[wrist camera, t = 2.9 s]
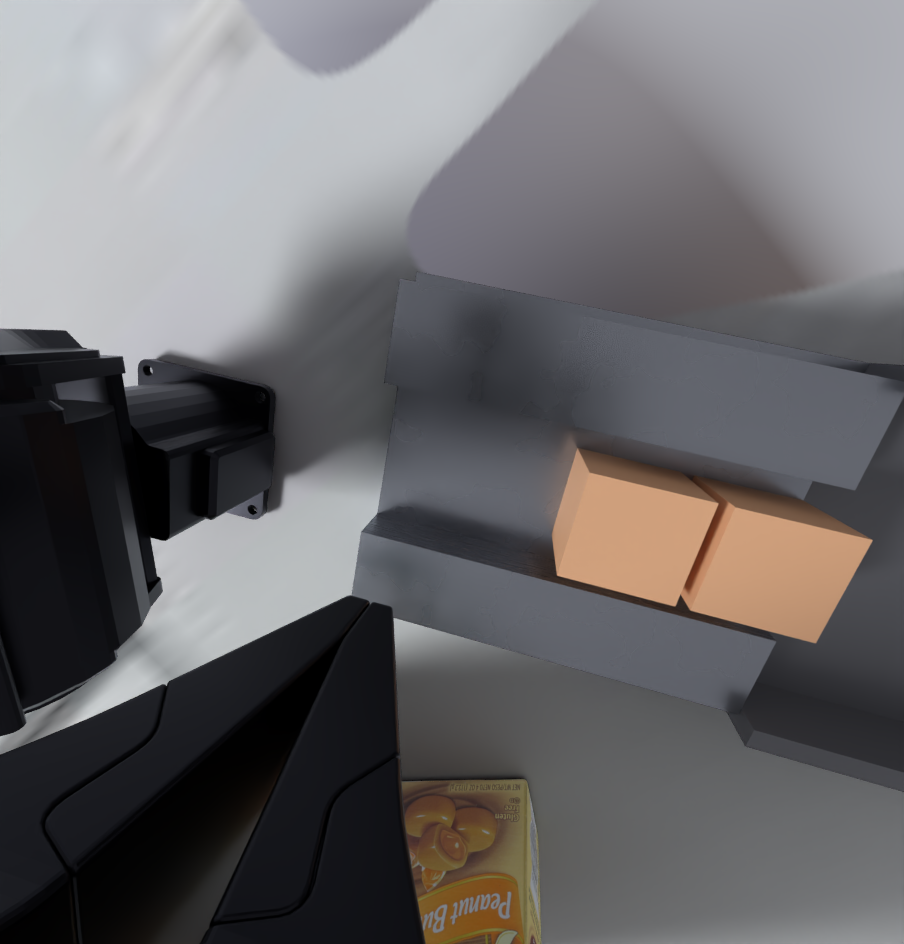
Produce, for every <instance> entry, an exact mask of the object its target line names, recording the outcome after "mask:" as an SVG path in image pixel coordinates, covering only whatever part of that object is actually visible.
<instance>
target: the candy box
mask: <svg viewBox="0 0 904 944" xmlns="http://www.w3.org/2000/svg"><path fill="white" fill-rule="evenodd" d="M402 791H403V803H404V814H405V825H406V831H407V838H408V845H409V851H410V858H411V865H412V871H413V877H414V882H415V888H416V893H417V898H418V904H419V909H420V915H421V920H422V926H423V931H424V936H425V942H426V944H541V919H540V882H539V851H538V833H537V828H536V823H535V818H534V813H533V807H532V802H531V798H530V793H529V788H528V784H527V781H526V780H525V779H510V780H448V781H402Z"/></svg>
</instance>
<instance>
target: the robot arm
mask: <svg viewBox="0 0 904 944" xmlns="http://www.w3.org/2000/svg"><path fill="white" fill-rule="evenodd" d="M150 366H151V368H152V370H153V374H152V373H151V372H150ZM123 373H125V367H124V361H123V356H107V355H100V353H99V350H93V349H87V348H83V347H82V346H81V345H80V344H79V343H78V342H77V341H76V340H75V339H74V338H73V337H72V336H71V335H70V334H69V333H68V332H67V331H61V330H31V329H0V736H3V735H7V734H10V733H14V732H16V731H18V730H20V729H21V728H22V727H23V726H24V725H25V724H26V717H25V714H26V713H29V712H32V711H35V710H38V709H40V708H42V707H44V706H46V705H49V704H51V703H53V702H55V701H57V700H59V699H61V698H63V697H65V696H66V695H68V694H70V693H71V692H73V691H75V690H76V689H78V688H80V687H81V686H82V685H84V684H85V683H86V682H88V681H89V680H91V679H92V678H94V677H95V676H97V675H98V674H100V673H101V672H103V671H105V670H106V669H107V668H108V667H110V666H111V665H112V664H113V663H114V662H115V661H116V659H117V657H118V655H117V650H118V648H119V647H120V646H121V645H122V644H123V643H124V642H125V641H126V640H127V639H128V638H129V637H130V636H131V635H132V634H133V633H134V632H135V631H136V630H137V629H138V628H139V627H141V626H142V624H143V622H144V620H145V618H146V616H147V614H148V612H149V609H150V607H151V606H152V605H153V603H154V602H155V601H156V600H157V598H158V597H159V596H160V595H161V593H162V592H163V589H162V583H161V578H160V577H157V574H156V568H155V562H154V556H153V551H152V545H151V539H150V538H155V539H158V540H162V541H166V540H168V539H170V538H171V537H173V536H175V535H177V534H179V533H181V532H182V531H184V530H186V529H188V528H190V527H192V526H193V525H195V524H197V523H199V522H201V521H203V520H204V519H209V520H213V519H215V518H217V517H218V516H220V515H222V514H224V513H225V512H227V513H230V514H234V515H238V516H242V517H245V518H249V519H258V518H260V517H261V516H263V515H264V514H265V513H266V510H267V499H268V488H269V487H271V483H272V471H273V458H274V446H275V437H274V435H273V422H274V409H275V394H274V392H273V390H272V389H271V388H270V387H268V386H266V385H262V384H258V383H253V382H249V381H245V380H241V379H237V378H232V377H228V376H224V375H220V374H215V373H211V372H207V371H203V370H198V369H194V368H190V367H186V366H181V365H177V364H173V363H169V362H164V361H160V360H156V359H144V360H142V361H141V362H140V363H139V365H138V386H130V387H124V383H123V377H122V374H123ZM261 392H262V393H263V394H264V395H265V401H262V400H261V399H260V393H261ZM252 505H254V506H255V507H256V508H257V512H256V511H255V510H254V509H253V507H252ZM0 944H426V942H425V936H424V931H423V926H422V920H421V915H420V909H419V904H418V898H417V893H416V888H415V882H414V877H413V871H412V865H411V858H410V851H409V845H408V838H407V831H406V825H405V814H404V803H403V791H402V776H401V760H400V741H399V721H398V701H397V681H396V661H395V641H394V621H393V609H392V607H391V606H388V605H384V604H380V603H377V602H372V603H370V602H369V601H368V600H366V599H362V598H359V597H355V596H351V595H349V596H346V597H344V598H342V599H340V600H338V601H336V602H333V603H331V604H329V605H327V606H325V607H323V608H321V609H319V610H317V611H315V612H313V613H311V614H308V615H306V616H304V617H302V618H300V619H298V620H296V621H294V622H292V623H290V624H288V625H286V626H283V627H281V628H279V629H277V630H275V631H273V632H271V633H269V634H267V635H265V636H263V637H260V638H258V639H256V640H254V641H252V642H250V643H248V644H246V645H244V646H242V647H240V648H238V649H235V650H233V651H231V652H229V653H227V654H225V655H223V656H221V657H219V658H217V659H215V660H212V661H210V662H208V663H206V664H204V665H202V666H200V667H198V668H196V669H194V670H192V671H190V672H187V673H185V674H183V675H181V676H179V677H177V678H175V679H173V680H171V681H169V682H168V684H167V686H166V685H165V684H162V685H160V686H158V687H156V688H154V689H152V690H149V691H147V692H145V693H143V694H141V695H139V696H137V697H135V698H133V699H130V700H128V701H126V702H124V703H122V704H120V705H117V706H115V707H113V708H111V709H109V710H106V711H104V712H102V713H100V714H98V715H95V716H93V717H91V718H89V719H86V720H84V721H82V722H79V723H77V724H74V725H72V726H70V727H67V728H65V729H62V730H60V731H58V732H55V733H53V734H50V735H48V736H46V737H43V738H41V739H38V740H36V741H34V742H31V743H29V744H26V745H24V746H21V747H19V748H16V749H14V750H11V751H9V752H6V753H4V754H1V755H0Z"/></svg>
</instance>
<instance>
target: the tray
mask: <svg viewBox="0 0 904 944" xmlns="http://www.w3.org/2000/svg"><path fill="white" fill-rule="evenodd" d="M865 374H869V375H874V376H879V377H884V378H889V379H894V380H898V381H903V382H904V365H889V364H872V363H870V364H869V366H868V368H867V370H866V372H865ZM803 501H805V502H807V503H808V504H810V505H812V506H814V507H815V508H817V509H819V510H821V511H822V512H824V513H826V514H828V515H830V516H831V517H833V518H835V519H837V520H838V521H840V522H842V523H844V524H845V525H847V526H849V527H851V528H852V529H854V530H856V531H858V532H859V533H861V534H863V535H865V536H867V537H868V538H870V539H872V540H873V541H872V543H871V545H870V546H869V548H868V550H867V552H866V554H865V555H864V557H863V559H862V561H861V563H860V564H859V566H858V568H857V570H856V572H855V573H854V575H853V577H852V579H851V581H850V582H849V584H848V586H847V588H846V590H845V591H844V593H843V595H842V597H841V599H840V600H839V602H838V604H837V606H836V608H835V609H834V611H833V613H832V615H831V617H830V618H829V620H828V622H827V624H826V626H825V627H824V629H823V631H822V633H821V635H820V636H819V638H818V640H817V642H816V643H812V642H808V641H804V640H801V639H797V638H793V637H789V636H785V635H782V634H778V633H774V632H770V631H768V632H769V633H770V634H771V635H772V637H773V638H774V639H775V640H776V643H775V645H774V647H773V649H772V651H771V653H770V655H769V657H768V659H767V661H766V663H765V665H764V666H763V668H762V670H761V672H760V674H759V676H758V678H757V680H756V682H755V684H754V686H753V688H752V689H751V691H750V693H749V695H748V697H747V699H746V701H745V703H744V705H743V707H742V709H741V711H740V713H739V714H735V713H731V712H728V711H726V712H727V713H728V715H729V717H730V719H731V721H732V723H733V724H734V726H735V728H736V730H737V732H738V734H739V736H740V737H741V739H742V741H743V743H744V745H745V746H746V747H749V748H753V749H756V750H760V751H763V752H767V753H770V754H774V755H777V756H781V757H784V758H788V759H791V760H795V761H798V762H802V763H805V764H809V765H812V766H816V767H819V768H822V769H826V770H829V771H833V772H836V773H840V774H843V775H847V776H850V777H854V778H857V779H861V780H864V781H868V782H871V783H875V784H878V785H882V786H885V787H889V788H892V789H896V790H899V791H903V792H904V397H903V399H902V401H901V403H900V405H899V407H898V409H897V411H896V413H895V415H894V417H893V419H892V420H891V422H890V424H889V426H888V428H887V430H886V432H885V434H884V436H883V438H882V440H881V442H880V443H879V445H878V447H877V449H876V451H875V453H874V455H873V457H872V459H871V461H870V463H869V465H868V467H867V468H866V470H865V472H864V474H863V476H862V478H861V480H860V482H859V484H858V486H857V488H856V490H851V489H846V488H842V487H838V486H833V485H829V484H825V483H820V482H816V481H812V484H811V486H810V488H809V490H808V492H807V494H806V496H805V498H804V500H803Z"/></svg>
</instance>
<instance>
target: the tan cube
mask: <svg viewBox="0 0 904 944" xmlns="http://www.w3.org/2000/svg"><path fill="white" fill-rule="evenodd" d="M692 482H694V483H695V484H696V485H697V486H698V487H700V488H701V489H702V490H703V491H704V492H706V493H707V494H708V495H709V496H710V497H712V498H713V499H714V500H715V501H716V502H718V503H719V504H718V506H717V509H716V511H715V514H714V516H713V518H712V521H711V523H710V525H709V528H708V530H707V533H706V535H705V537H704V540H703V542H702V544H701V547H700V549H699V551H698V554H697V556H696V559H695V561H694V563H693V566H692V568H691V570H690V573H689V575H688V578H687V580H686V582H685V585H684V587H683V589H682V592H681V596H682V598H683V599H684V601H685V603H686V604H687V606H688V607H689V609H690V611H694V612H698V613H701V614H705V615H709V616H713V617H717V618H721V619H724V620H728V621H732V622H736V623H740V624H743V625H747V626H751V627H755V628H759V629H762V630H766V631H770V632H774V633H778V634H782V635H785V636H789V637H793V638H797V639H801V640H804V641H808V642H812V643H816V642H817V640H818V638H819V636H820V635H821V633H822V631H823V629H824V627H825V626H826V624H827V622H828V620H829V618H830V617H831V615H832V613H833V611H834V609H835V608H836V606H837V604H838V602H839V600H840V599H841V597H842V595H843V593H844V591H845V590H846V588H847V586H848V584H849V582H850V581H851V579H852V577H853V575H854V573H855V572H856V570H857V568H858V566H859V564H860V563H861V561H862V559H863V557H864V555H865V554H866V552H867V550H868V548H869V546H870V545H871V543H872V541H873V540H872V539H870V538H868V537H867V536H865V535H863V534H861V533H859V532H858V531H856V530H854V529H852V528H851V527H849V526H847V525H845V524H844V523H842V522H840V521H838V520H837V519H835V518H833V517H831V516H830V515H828V514H826V513H824V512H822V511H821V510H819V509H817V508H815V507H814V506H812V505H810V504H808V503H807V502H805V501H803V500H799V499H794V498H790V497H786V496H781V495H777V494H773V493H769V492H764V491H760V490H756V489H752V488H747V487H743V486H739V485H734V484H730V483H726V482H722V481H717V480H713V479H709V478H704V477H700V476H696V475H694V477H693V480H692Z"/></svg>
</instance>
